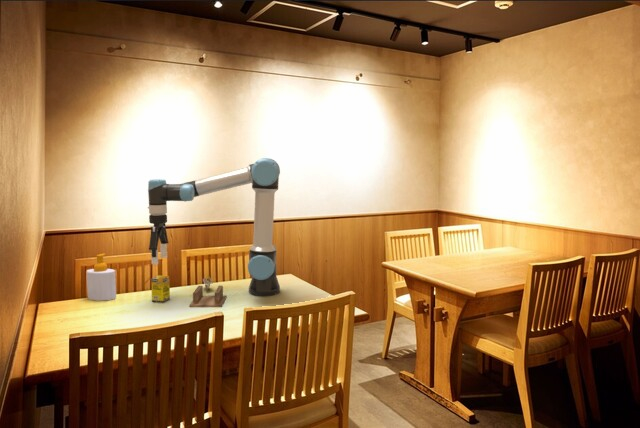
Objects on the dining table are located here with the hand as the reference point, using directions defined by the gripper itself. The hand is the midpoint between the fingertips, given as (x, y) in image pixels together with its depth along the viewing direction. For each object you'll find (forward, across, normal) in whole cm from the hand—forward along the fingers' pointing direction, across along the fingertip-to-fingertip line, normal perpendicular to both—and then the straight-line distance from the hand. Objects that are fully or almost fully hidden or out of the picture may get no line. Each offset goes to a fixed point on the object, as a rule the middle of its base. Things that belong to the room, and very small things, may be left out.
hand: (159, 261), depth 211 cm
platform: (+19, -17, +18) cm, 31 cm away
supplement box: (+19, 0, 0) cm, 19 cm away
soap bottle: (+19, -4, -28) cm, 34 cm away
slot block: (+18, +3, +22) cm, 29 cm away
